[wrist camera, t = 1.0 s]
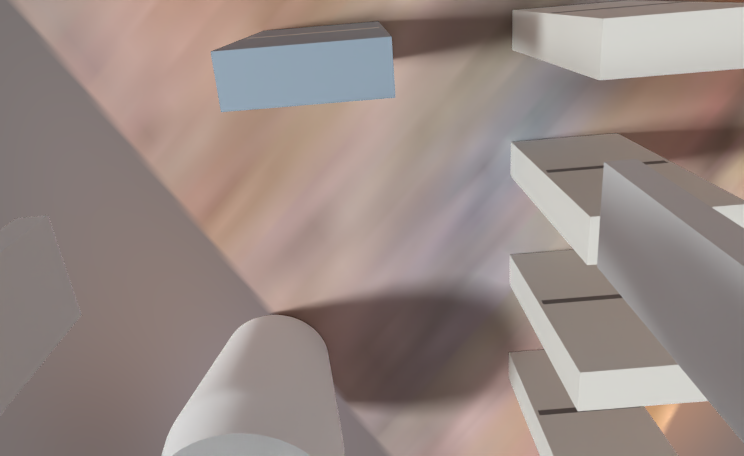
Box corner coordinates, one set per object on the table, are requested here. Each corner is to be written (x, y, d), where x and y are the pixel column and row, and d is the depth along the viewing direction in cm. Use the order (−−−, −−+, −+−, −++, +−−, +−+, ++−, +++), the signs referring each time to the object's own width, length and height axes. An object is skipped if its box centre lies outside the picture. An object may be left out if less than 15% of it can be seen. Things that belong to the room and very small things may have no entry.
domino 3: (509, 254, 36) (580, 372, 25) (608, 246, 36) (723, 360, 25) (509, 284, 36) (577, 411, 25) (606, 276, 36) (716, 400, 25)
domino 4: (508, 352, 38) (572, 498, 27) (600, 344, 38) (702, 488, 27) (508, 377, 39) (570, 531, 28) (598, 370, 39) (696, 520, 28)
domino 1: (512, 9, 30) (603, 18, 19) (627, -1, 30) (784, 3, 19) (511, 50, 31) (599, 80, 20) (624, 40, 31) (774, 66, 20)
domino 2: (511, 141, 33) (590, 216, 22) (617, 133, 33) (750, 203, 22) (510, 176, 34) (587, 265, 23) (614, 167, 34) (742, 252, 23)
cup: (284, 269, 36) (252, 394, 24) (375, 367, 38) (383, 519, 27) (177, 348, 38) (102, 498, 26) (271, 436, 40) (239, 605, 29)
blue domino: (263, 30, 31) (210, 51, 19) (378, 20, 31) (391, 36, 19) (268, 70, 31) (221, 112, 20) (380, 60, 31) (395, 97, 20)
